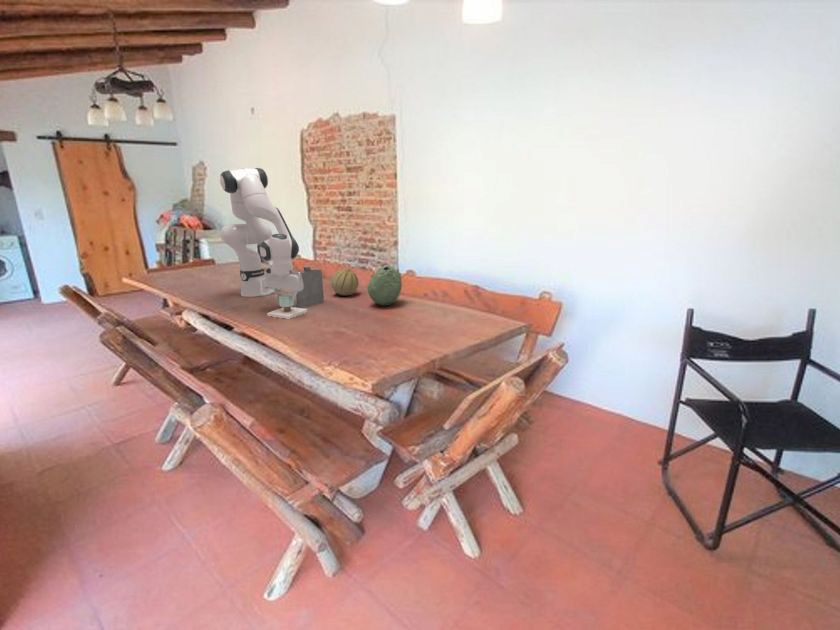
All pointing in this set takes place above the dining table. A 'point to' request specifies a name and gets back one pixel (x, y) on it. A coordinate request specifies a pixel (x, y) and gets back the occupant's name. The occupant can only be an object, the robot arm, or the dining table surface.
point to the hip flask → (310, 288)
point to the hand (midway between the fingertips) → (286, 298)
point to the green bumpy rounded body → (385, 285)
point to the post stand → (287, 312)
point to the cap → (285, 300)
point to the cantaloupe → (344, 282)
